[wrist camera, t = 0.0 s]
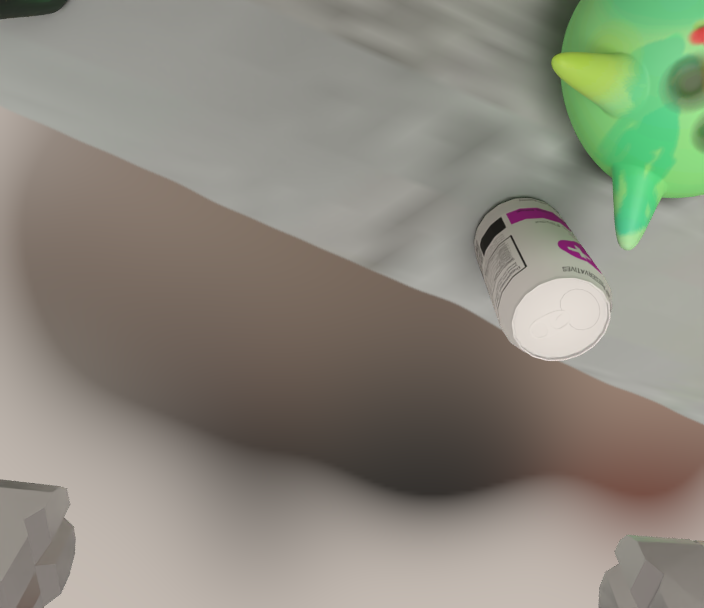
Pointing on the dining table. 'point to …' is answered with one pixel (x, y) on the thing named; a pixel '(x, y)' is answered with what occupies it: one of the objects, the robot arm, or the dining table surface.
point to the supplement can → (541, 281)
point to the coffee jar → (28, 7)
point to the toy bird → (638, 100)
